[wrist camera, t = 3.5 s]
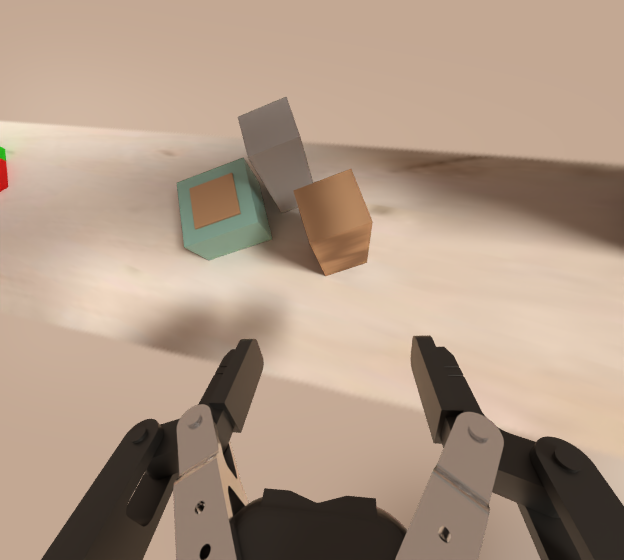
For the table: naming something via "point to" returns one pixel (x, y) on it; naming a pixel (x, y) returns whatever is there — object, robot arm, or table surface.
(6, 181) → the puzzle toy
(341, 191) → the walnut block
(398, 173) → the table surface
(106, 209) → the table surface
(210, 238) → the teal base block
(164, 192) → the table surface
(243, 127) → the slate-grey block
